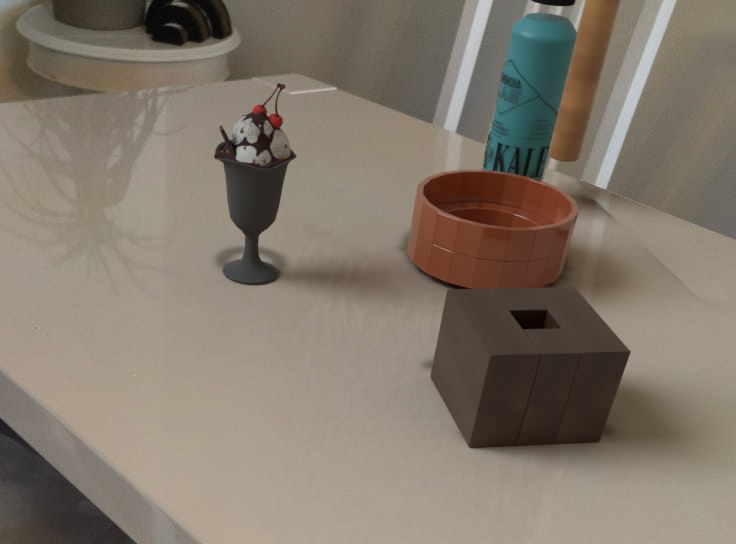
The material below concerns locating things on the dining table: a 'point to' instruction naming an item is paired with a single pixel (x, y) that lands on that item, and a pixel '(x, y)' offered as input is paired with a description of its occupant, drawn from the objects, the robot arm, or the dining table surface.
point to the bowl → (491, 229)
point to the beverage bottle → (530, 93)
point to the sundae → (254, 185)
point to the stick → (583, 78)
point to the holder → (526, 366)
